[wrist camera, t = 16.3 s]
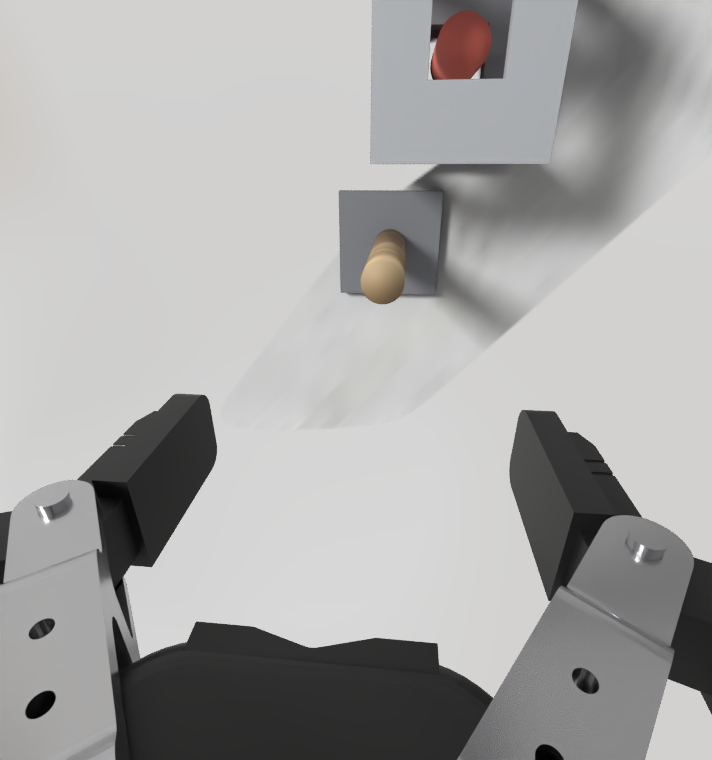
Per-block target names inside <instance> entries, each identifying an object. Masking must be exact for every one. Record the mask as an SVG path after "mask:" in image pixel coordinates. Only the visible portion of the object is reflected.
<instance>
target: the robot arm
mask: <svg viewBox="0 0 712 760" xmlns="http://www.w3.org/2000/svg"><path fill="white" fill-rule="evenodd" d="M216 455H217V444H216V438H215V433H214V426H213V421H212V415H211V409H210V404H209V400H208V398H207V397H206V396H205V395H193V394H175V395H173V396H172V397H171V398H170V399H169V400H168V401H167V402H166V403H165V404H164V405H163V406H162V407H161V408H160V409H159V411H154V412H152V413H150V414H149V415H147V416H145V417H143V418H141V419H140V420H138V421H136V422H135V423H134V424H133V425H132V426H131V427H130V428H129V429H128V430H127V431H126V432H125V433H124V436H121V437H120V438H119V439H118V440H117V441H116V442H115V443H114V444H113V447H110V448H109V449H108V450H107V451H106V452H105V453H104V454H103V455H102V456H101V457H100V458H99V459H98V460H97V461H96V462H95V463H94V464H93V465H92V466H91V467H90V468H89V469H88V470H87V471H86V472H85V473H84V474H83V475H82V476H80V477H79V478H78V479H77V480H68V481H62V482H58V483H54V484H50V485H48V486H45V487H43V488H40V489H38V490H37V491H35V492H33V493H31V494H30V495H28V496H27V497H25V498H24V499H23V500H22V501H20V502H19V503H18V504H17V506H16V507H15V508H14V510H13V511H11V512H5V513H0V760H645V757H646V753H647V750H648V746H649V743H650V739H651V736H652V732H653V728H654V725H655V722H656V718H657V714H658V711H659V707H660V704H661V700H662V697H663V693H664V689H665V686H666V682H667V679H670V680H672V681H675V682H678V683H680V684H683V685H685V686H688V687H690V688H693V689H696V690H698V691H700V692H701V694H702V696H703V698H704V700H705V702H706V704H707V706H708V708H709V710H710V712H711V714H712V563H709V562H706V561H703V560H700V559H697V558H694V557H693V555H692V553H691V551H690V549H689V548H688V546H687V545H686V544H685V543H684V542H683V541H682V540H681V539H680V538H679V537H678V536H677V535H676V534H674V533H673V532H671V531H670V530H668V529H667V528H665V527H663V526H661V525H659V524H657V523H655V522H653V521H650V520H648V519H644V518H642V517H641V515H640V514H639V512H638V511H637V509H636V507H635V506H634V504H633V503H632V501H631V500H630V498H629V497H628V495H627V494H626V492H625V491H624V489H623V488H622V486H621V485H620V483H619V482H618V481H617V479H616V477H615V476H613V475H612V474H613V473H612V471H611V470H610V468H609V467H608V465H607V464H606V463H604V459H603V457H602V456H601V454H600V453H599V451H598V450H597V448H596V447H595V446H594V445H593V444H592V443H590V442H589V441H588V440H586V439H585V438H584V437H582V436H581V435H580V434H578V433H574V432H567V430H566V429H565V427H564V425H563V424H562V422H561V420H560V419H559V417H558V416H557V414H556V413H555V412H553V411H533V410H522V411H521V413H520V415H519V418H518V423H517V428H516V433H515V439H514V444H513V449H512V454H511V460H510V483H511V487H512V490H513V493H514V496H515V499H516V502H517V505H518V509H519V512H520V515H521V518H522V521H523V524H524V527H525V530H526V533H527V536H528V539H529V542H530V545H531V548H532V552H533V555H534V558H535V561H536V564H537V567H538V570H539V573H540V576H541V579H542V582H543V585H544V588H545V592H546V595H547V597H548V600H549V601H551V602H550V603H549V605H548V607H547V609H546V610H545V612H544V613H543V615H542V617H541V619H540V621H539V622H538V624H537V625H536V627H535V629H534V631H533V632H532V634H531V635H530V637H529V639H528V641H527V642H526V644H525V646H524V647H523V649H522V651H521V652H520V654H519V656H518V658H517V659H516V661H515V663H514V664H513V666H512V668H511V669H510V671H509V673H508V675H507V676H506V678H505V679H504V681H503V683H502V685H501V686H500V688H499V690H498V691H497V693H496V695H495V696H494V698H492V697H491V696H490V695H489V694H488V693H486V692H485V691H484V690H483V689H482V688H480V687H479V686H478V685H476V684H474V683H473V682H471V681H470V680H468V679H467V678H465V677H464V676H462V675H460V674H458V673H456V672H454V671H452V670H450V669H448V668H445V667H443V666H440V665H439V660H438V646H437V644H436V643H425V642H414V641H403V640H392V639H381V638H373V639H367V640H361V641H355V642H349V643H343V644H337V645H331V646H325V647H319V648H308V647H305V646H302V645H300V644H297V643H294V642H292V641H289V640H286V639H284V638H281V637H279V636H276V635H273V634H271V633H268V632H266V631H263V630H260V629H258V628H255V627H250V626H239V625H228V624H217V623H206V622H196V623H195V626H194V628H193V630H192V632H191V635H190V637H189V639H188V641H187V642H186V643H181V644H177V645H174V646H170V647H167V648H164V649H161V650H159V651H156V652H154V653H151V654H149V655H147V656H145V657H144V658H141V659H140V654H139V650H138V644H137V640H136V633H135V628H134V622H133V617H132V611H131V606H130V600H129V595H128V590H127V584H126V581H125V578H124V574H125V573H126V571H127V570H128V568H129V567H130V565H133V566H145V567H152V566H153V564H154V563H155V561H156V559H157V558H158V556H159V555H160V553H161V551H162V550H163V548H164V546H165V545H166V543H167V542H168V540H169V538H170V537H171V535H172V533H173V532H174V530H175V529H176V527H177V525H178V524H179V522H180V520H181V519H182V517H183V515H184V514H185V512H186V511H187V509H188V507H189V506H190V504H191V503H192V501H193V499H194V498H195V496H196V494H197V493H198V491H199V490H200V487H201V486H202V485H203V483H204V481H205V479H206V478H207V476H208V475H209V473H210V472H211V470H212V468H213V466H214V463H215V460H216Z"/></svg>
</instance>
